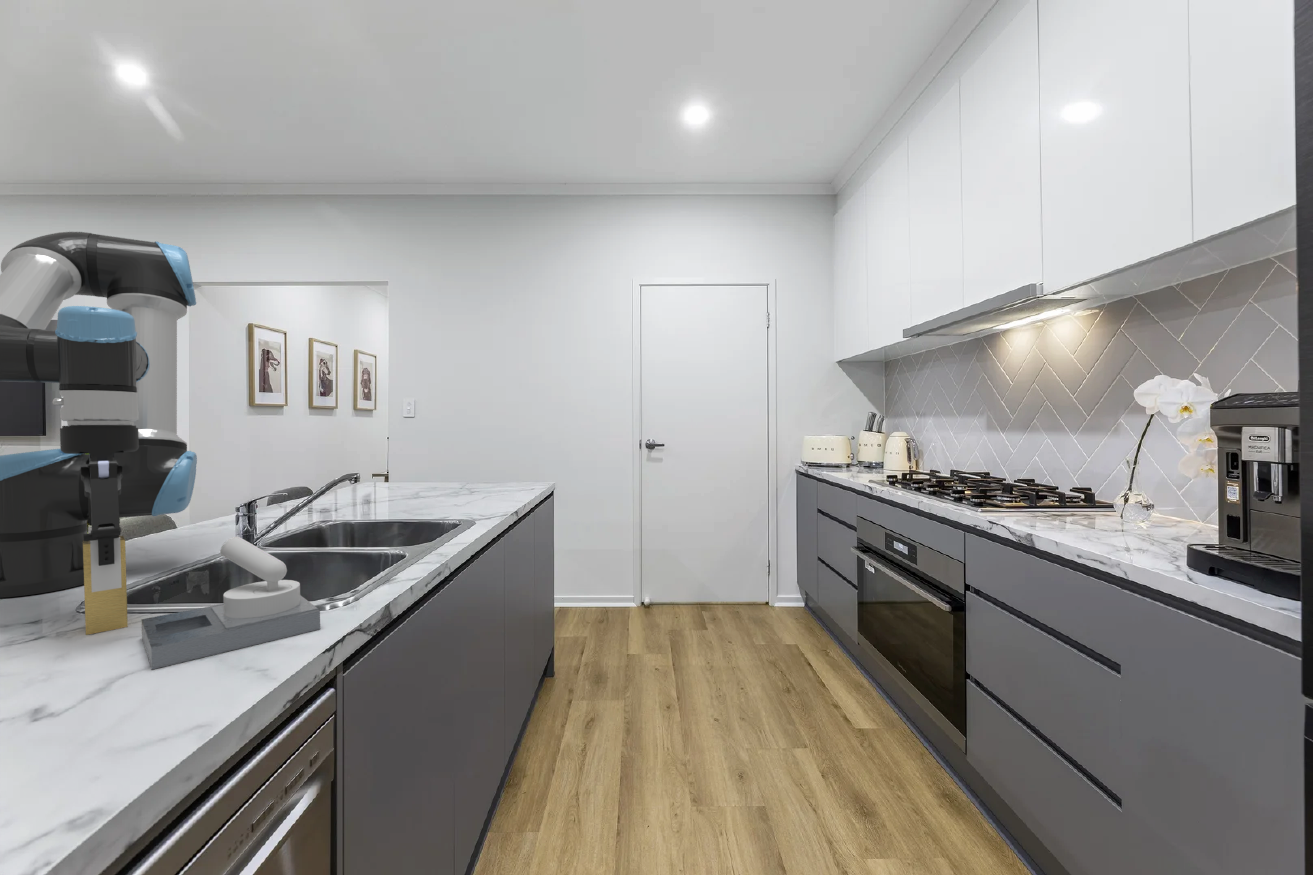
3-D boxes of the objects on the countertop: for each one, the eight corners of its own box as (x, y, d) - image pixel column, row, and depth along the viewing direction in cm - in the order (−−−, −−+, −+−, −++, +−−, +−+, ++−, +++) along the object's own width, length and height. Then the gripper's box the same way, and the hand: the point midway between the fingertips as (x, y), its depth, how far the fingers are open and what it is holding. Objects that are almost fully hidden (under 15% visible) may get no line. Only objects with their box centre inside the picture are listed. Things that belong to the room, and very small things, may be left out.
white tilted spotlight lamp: (254, 530, 82) (313, 533, 80) (256, 594, 82) (314, 599, 80) (196, 543, 73) (260, 546, 72) (198, 614, 74) (262, 620, 72)
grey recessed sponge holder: (141, 638, 72) (141, 618, 72) (293, 606, 85) (293, 589, 85) (151, 669, 63) (151, 646, 63) (320, 629, 76) (319, 610, 76)
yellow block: (85, 627, 76) (82, 540, 76) (125, 619, 79) (123, 535, 79) (85, 634, 74) (83, 544, 73) (127, 626, 76) (125, 539, 76)
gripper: (61, 424, 81) (65, 568, 82) (58, 422, 64) (63, 606, 65) (131, 424, 87) (135, 559, 87) (146, 422, 70) (150, 591, 70)
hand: (104, 579), depth 76 cm, fingers open, 13 cm apart
